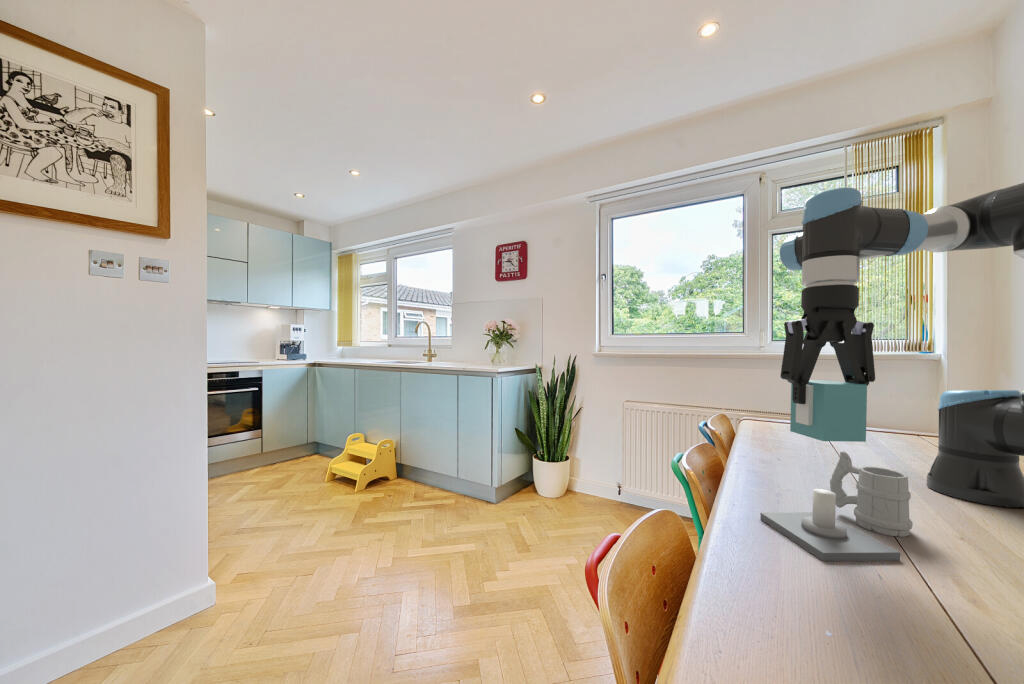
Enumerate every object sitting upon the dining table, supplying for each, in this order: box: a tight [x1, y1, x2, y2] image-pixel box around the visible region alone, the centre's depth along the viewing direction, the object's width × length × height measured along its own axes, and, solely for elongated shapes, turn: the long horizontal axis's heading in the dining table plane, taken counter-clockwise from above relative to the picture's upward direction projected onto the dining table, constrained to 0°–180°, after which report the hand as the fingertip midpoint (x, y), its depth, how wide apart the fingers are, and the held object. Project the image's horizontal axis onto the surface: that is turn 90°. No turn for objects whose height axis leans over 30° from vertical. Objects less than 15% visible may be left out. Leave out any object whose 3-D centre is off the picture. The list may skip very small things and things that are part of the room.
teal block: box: [789, 379, 868, 443], centre depth 67 cm, size 7×7×9 cm
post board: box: [760, 488, 901, 562], centre depth 67 cm, size 12×14×8 cm
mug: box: [829, 450, 913, 538], centre depth 73 cm, size 8×12×12 cm, turn 28°
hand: (826, 423), depth 67 cm, fingers closed on teal block, 7 cm apart
